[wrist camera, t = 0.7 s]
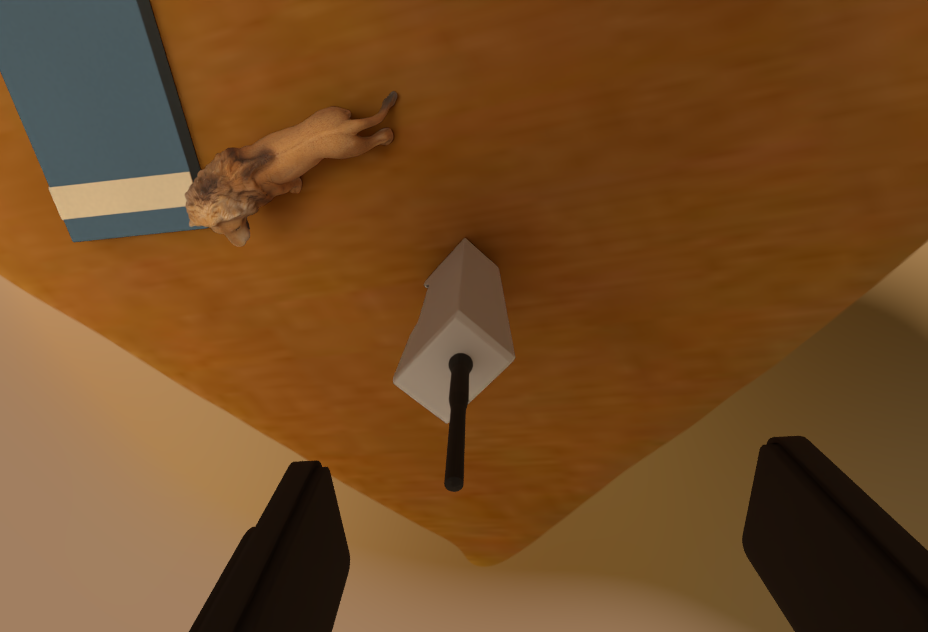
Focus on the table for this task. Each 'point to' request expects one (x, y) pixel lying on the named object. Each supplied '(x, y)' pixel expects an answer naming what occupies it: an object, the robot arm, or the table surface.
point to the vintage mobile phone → (457, 345)
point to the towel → (100, 114)
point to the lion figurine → (275, 167)
